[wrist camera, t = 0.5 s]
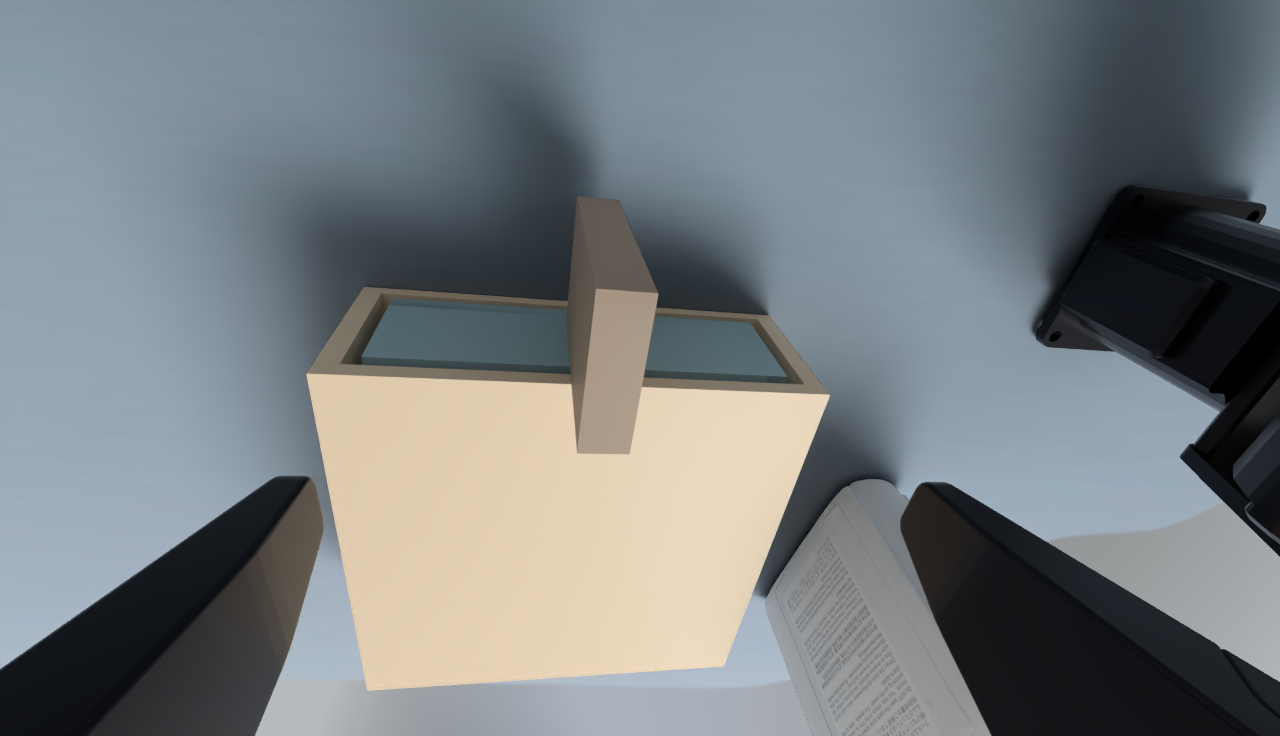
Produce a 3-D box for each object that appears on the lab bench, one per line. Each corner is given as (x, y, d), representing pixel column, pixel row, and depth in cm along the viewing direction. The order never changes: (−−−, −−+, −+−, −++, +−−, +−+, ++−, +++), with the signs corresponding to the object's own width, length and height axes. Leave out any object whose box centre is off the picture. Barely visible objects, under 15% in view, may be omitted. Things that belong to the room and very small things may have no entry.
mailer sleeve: (769, 315, 21) (830, 394, 16) (692, 572, 28) (720, 674, 24) (363, 286, 18) (306, 373, 13) (398, 581, 25) (369, 699, 21)
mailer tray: (780, 212, 18) (906, 312, 12) (678, 577, 27) (719, 740, 21) (380, 166, 15) (273, 263, 9) (418, 585, 24) (377, 774, 18)
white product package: (816, 611, 32) (950, 898, 21) (751, 606, 30) (858, 908, 20) (913, 480, 27) (1147, 769, 16) (840, 468, 26) (1043, 772, 15)
